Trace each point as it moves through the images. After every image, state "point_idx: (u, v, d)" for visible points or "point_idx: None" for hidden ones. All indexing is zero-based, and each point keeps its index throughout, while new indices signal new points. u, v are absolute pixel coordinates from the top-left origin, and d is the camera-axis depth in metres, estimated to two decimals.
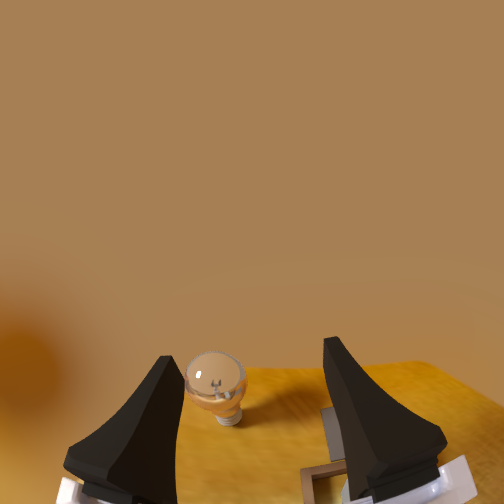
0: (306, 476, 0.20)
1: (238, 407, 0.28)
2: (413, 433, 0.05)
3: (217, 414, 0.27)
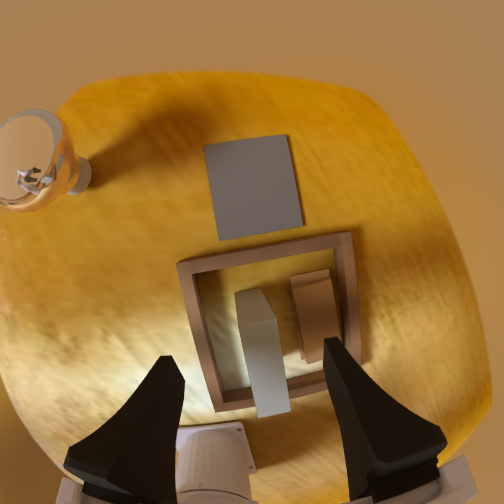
0: (185, 276, 0.21)
1: (76, 174, 0.17)
2: (413, 433, 0.05)
3: None
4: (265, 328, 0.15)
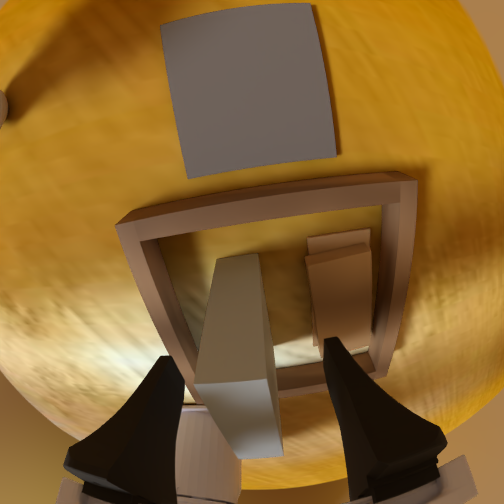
0: (131, 244, 0.12)
1: None
2: (413, 433, 0.05)
3: None
4: (245, 390, 0.08)
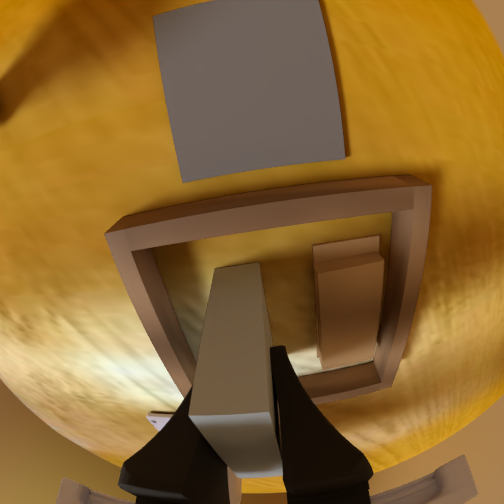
0: (122, 254, 0.11)
1: None
2: (331, 457, 0.05)
3: None
4: (245, 422, 0.07)
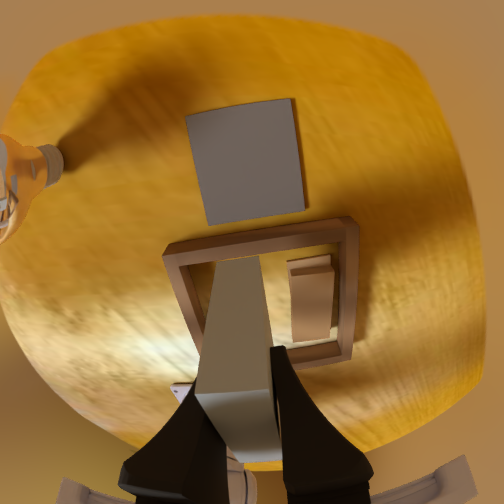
0: (172, 268, 0.19)
1: (42, 177, 0.14)
2: (331, 457, 0.05)
3: None
4: (246, 399, 0.07)
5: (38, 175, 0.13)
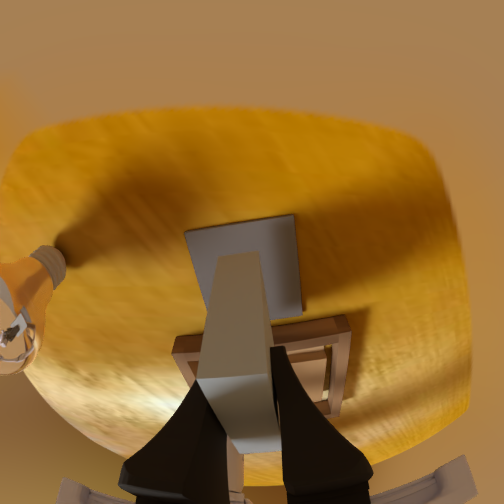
0: (181, 362, 0.20)
1: (49, 293, 0.15)
2: (331, 457, 0.05)
3: None
4: (246, 385, 0.08)
5: (45, 295, 0.14)
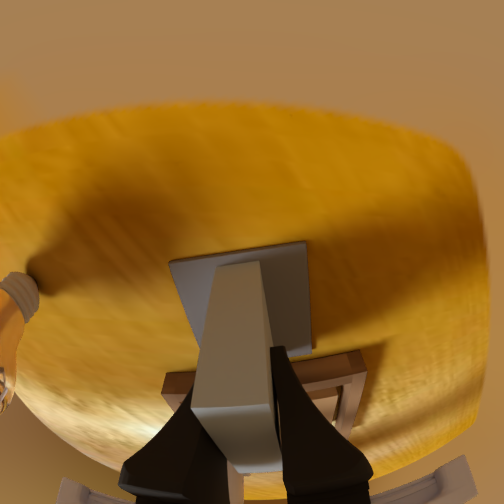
0: (173, 402, 0.17)
1: (19, 330, 0.11)
2: (331, 457, 0.05)
3: None
4: (245, 414, 0.07)
5: (14, 334, 0.10)
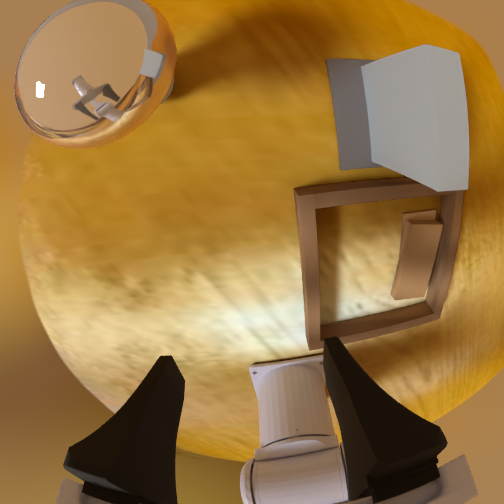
0: (308, 211, 0.17)
1: None
2: (413, 433, 0.05)
3: None
4: (451, 59, 0.07)
5: None
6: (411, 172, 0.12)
